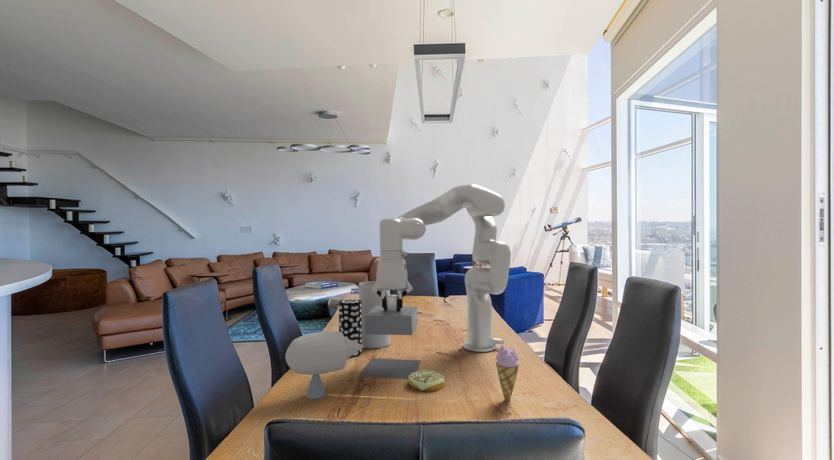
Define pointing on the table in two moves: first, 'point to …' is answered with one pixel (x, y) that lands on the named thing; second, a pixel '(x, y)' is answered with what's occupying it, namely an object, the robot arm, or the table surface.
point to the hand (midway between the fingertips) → (392, 309)
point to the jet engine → (320, 357)
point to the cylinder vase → (368, 303)
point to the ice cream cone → (507, 370)
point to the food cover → (391, 319)
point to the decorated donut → (426, 380)
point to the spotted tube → (351, 321)
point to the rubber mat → (390, 368)
